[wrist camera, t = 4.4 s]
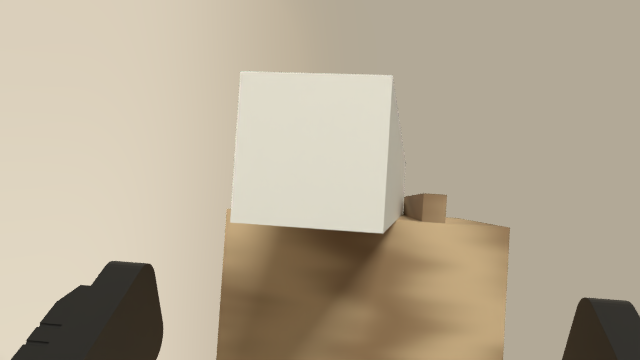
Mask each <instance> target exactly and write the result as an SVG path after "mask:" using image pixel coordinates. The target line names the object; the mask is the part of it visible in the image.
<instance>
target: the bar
mask: <svg viewBox="0 0 640 360" xmlns="http://www.w3.org/2000/svg"><path fill="white" fill-rule="evenodd" d="M405 166H406V162H405V156H404V149H403V142H402V135H401V130H400V122H399V115H398V109H397V102H396V95H395V89H394V82H393V76H392V75H360V74H359V75H358V74H322V73H286V72H285V73H284V72H283V73H282V72H248V71H241V72H240V85H239V101H238V116H237V129H236V144H235V159H234V172H233V173H234V174H233V187H232V202H231V216H230V222H231V223H244V224H258V225H272V226H286V227H300V228H314V229H327V230H341V231H355V232H369V233H384V232H385V231H386V230H387V229H388V228H389V227H390V226H391V225H392V224H393V223H394V222H395V221H396V220H397V219H398V218H399V217H400V216H401V215H402V214H403V199H404V183H405Z"/></svg>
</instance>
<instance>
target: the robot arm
mask: <svg viewBox="0 0 640 360" xmlns="http://www.w3.org/2000/svg"><path fill="white" fill-rule="evenodd" d="M162 338H163V321H162V314H161V308H160V302H159V296H158V290H157V284H156V278H155V272H154V269H153V267H152V265H151V264H146V263H133V262H120V261H111V262H109V263H108V264H107V265H106V266H105V267H104V269H103V270H102V272H101V273H100V274H99V275H98V277H97V278H96V280H95V281H94V282H93V284H92V285H91V286H85V285H80V286H79V287H77V288H76V289H74V290H73V291H72V292H70V293H69V294H67V295H66V296H64V297H63V298H61V299H60V300H59V301H57V302H56V303H55V304H54V306H53V307H52V308H51V310H50V311H49V312H48V313H47V315H46V316H45V317H44V319H43V320H42V321H41V322H40V326H39V327H36V329H35V330H34V331H33V332H32V334H31V335H30V336H29V338H28V339H27V342H26V344H25V345H22V347H21V348H20V349H19V350H18V352H17V353H16V354H15V355H14V356H13V358H12V359H11V360H156V359H157V357H158V354H159V351H160V348H161V344H162ZM562 360H640V317H639V315H638V313H637V311H636V310H635V308H634V306H633V305H632V304H631V303H630V302H629V301H622V300H610V299H596V298H582V299H581V300H580V302H579V304H578V306H577V310H576V313H575V316H574V320H573V323H572V327H571V330H570V334H569V337H568V341H567V344H566V348H565V351H564V355H563V358H562Z"/></svg>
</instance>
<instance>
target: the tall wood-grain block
mask: <svg viewBox="0 0 640 360" xmlns="http://www.w3.org/2000/svg"><path fill="white" fill-rule="evenodd" d="M446 201H447V195H440V194H418V195H412V196H406V197H404V212H403V215H401V216H400V217H399V218H398V219H397V220H396V221H395V222H394V223H393V224H392V225H391V226H390V227H389V228H388V229H387V230H386V231H385V232H384V233H369V232H355V231H341V230H327V229H314V228H300V227H286V226H272V225H258V224H244V223H231V222H230V216H231V209H227V215H226V229H225V243H224V258H223V273H222V286H221V302H220V316H219V329H218V330H219V331H218V344H217V358H216V360H503V348H504V330H505V311H506V291H507V272H508V253H509V252H508V251H509V233H510V228H508V227H503V226H497V225H492V224H487V223H481V222H476V221H470V220H465V219H459V218H447V217H446Z"/></svg>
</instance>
